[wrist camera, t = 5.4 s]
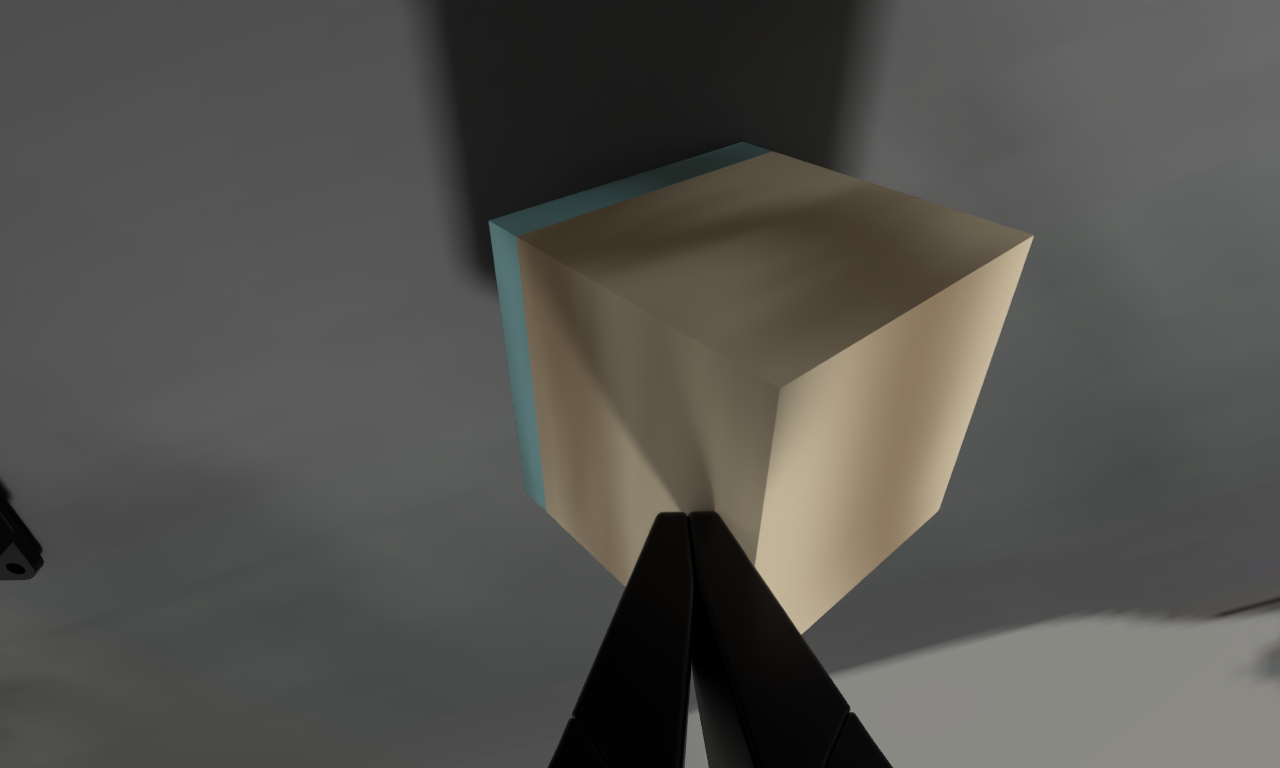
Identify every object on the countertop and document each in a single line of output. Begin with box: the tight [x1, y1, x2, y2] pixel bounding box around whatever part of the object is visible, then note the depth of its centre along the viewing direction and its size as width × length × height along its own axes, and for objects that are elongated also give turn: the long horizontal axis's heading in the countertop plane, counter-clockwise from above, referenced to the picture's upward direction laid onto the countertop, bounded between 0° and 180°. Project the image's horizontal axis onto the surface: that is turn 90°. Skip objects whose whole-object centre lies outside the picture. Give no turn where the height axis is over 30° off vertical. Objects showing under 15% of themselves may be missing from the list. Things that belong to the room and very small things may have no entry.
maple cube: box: [489, 142, 1034, 635], centre depth 13 cm, size 6×6×6 cm
